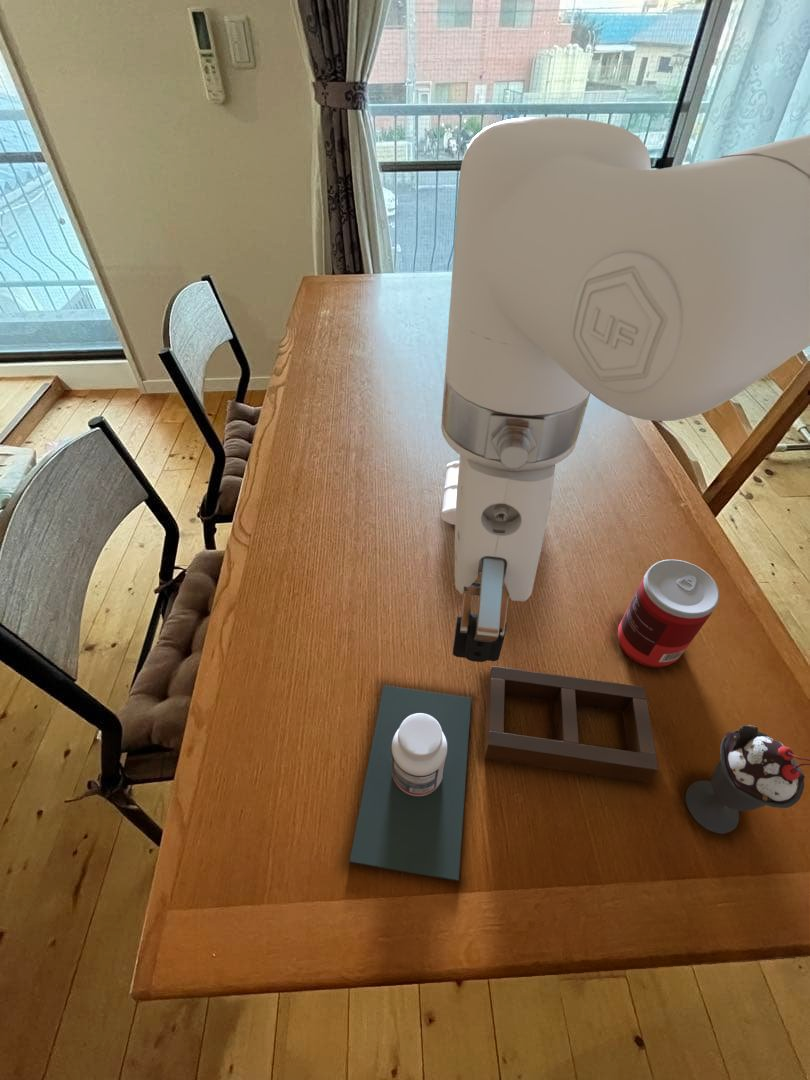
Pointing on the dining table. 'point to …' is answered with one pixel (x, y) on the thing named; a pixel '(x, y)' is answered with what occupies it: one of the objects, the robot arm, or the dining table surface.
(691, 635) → the canned food
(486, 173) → the robot arm
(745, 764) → the sundae
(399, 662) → the dining table surface
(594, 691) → the holder
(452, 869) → the mat
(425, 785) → the pill bottle
